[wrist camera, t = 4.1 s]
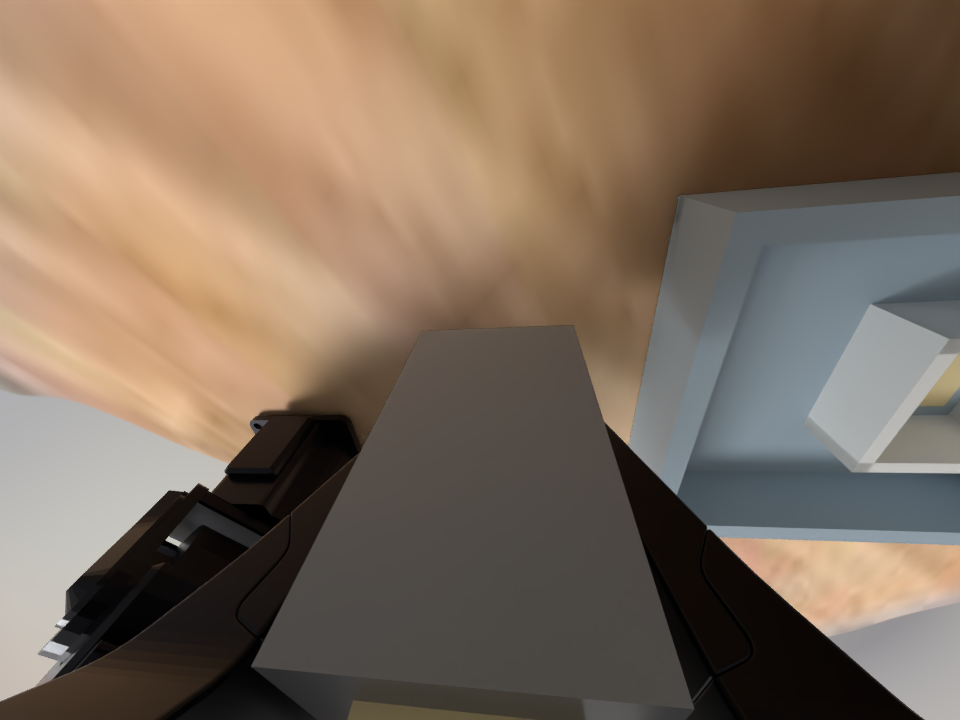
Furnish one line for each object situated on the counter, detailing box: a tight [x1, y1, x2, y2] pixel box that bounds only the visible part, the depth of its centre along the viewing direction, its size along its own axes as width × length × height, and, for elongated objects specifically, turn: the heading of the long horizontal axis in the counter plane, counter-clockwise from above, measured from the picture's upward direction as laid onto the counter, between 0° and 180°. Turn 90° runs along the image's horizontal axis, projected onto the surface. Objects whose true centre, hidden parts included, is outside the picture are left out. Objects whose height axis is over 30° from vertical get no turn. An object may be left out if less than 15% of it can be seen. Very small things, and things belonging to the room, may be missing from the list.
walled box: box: [629, 172, 960, 545], centre depth 14 cm, size 16×18×4 cm
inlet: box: [803, 300, 960, 473], centre depth 14 cm, size 7×7×3 cm
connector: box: [251, 325, 694, 720], centre depth 7 cm, size 4×4×7 cm
